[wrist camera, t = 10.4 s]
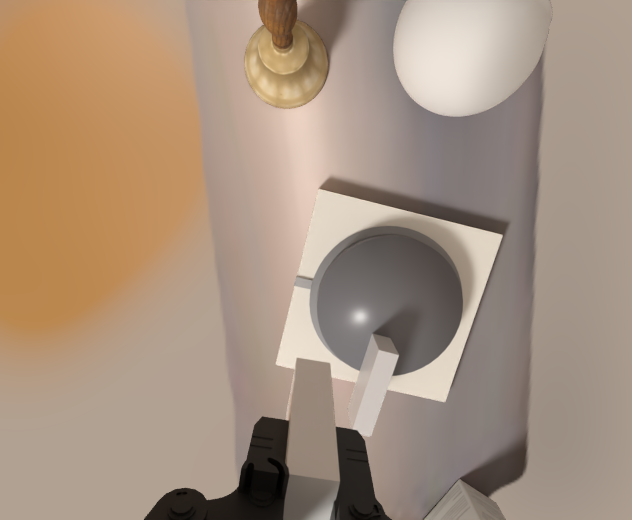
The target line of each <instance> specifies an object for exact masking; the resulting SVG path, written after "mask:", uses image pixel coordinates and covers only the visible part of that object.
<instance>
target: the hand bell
mask: <svg viewBox="0 0 632 520" xmlns="http://www.w3.org/2000/svg"><path fill="white" fill-rule="evenodd" d="M258 8H259V13H260V17H261V20H262V22H263V24H264V25H263V26H261V27H260V28H259V29H258V30H257V31H256V32H255V33H254V34H253V36H252V37H251V39H250V41H249V43H248V46H247V48H246V53H245V60H244V63H245V72H246V76H247V79H248V82H249V84H250V86H251V88H252V89H253V91H254V92H255V93H256V94H257V96H258V97H260V98H261V99H262V100H263V101H265V102H266V103H268V104H270V105H272V106H275V107H278V108H284V109H290V108H296V107H300V106H302V105H304V104H306V103H308V102H310V101H311V100H312V99H314V98H315V97H316V95H317V94H318V93H319V92H320V90H321V89H322V87H323V85H324V83H325V80H326V77H327V72H328V56H327V52H326V48H325V46H324V44H323V42H322V40H321V38H320V37H319V35H318V34H317V33H316V32H315V31H314V30H313V29H312V28H311V27H310V26H308V25H307V24H305V23H303V22H301V21H299V20H296V19H297V2H296V0H259V1H258Z"/></svg>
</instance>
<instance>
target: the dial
mask: <svg viewBox="0 0 632 520" xmlns="http://www.w3.org/2000/svg"><path fill="white" fill-rule="evenodd" d="M462 312H463V296H462V290H461V286H460V282H459V280H458V277H457V275H456V273H455V271H454V270H453V268H452V266H451V265H450V264H449V263H448V261H447V260H446V259H445V258H444V257H443V256H442V255H441V254H440V253H439V252H437V251H436V250H434V249H433V248H432V247H430V246H428V245H426V244H424V243H422V242H421V241H419V240H416V239H414V238H411V237H408V236H403V235H396V234H381V235H375V236H371V237H367V238H364V239H362V240H359V241H357V242H355V243H353V244H352V245H350V246H348V247H347V248H345V249H344V250H343V251H342V252H341V253H339V254H338V255H337V256H336V258H335V259H334V260H333V261H332V262H331V263H330V265H329V266H328V268H327V269H326V271H325V273H324V275H323V277H322V280H321V282H320V285H319V289H318V294H317V316H318V322H319V327H320V330H321V333H322V336H323V338H324V340H325V342H326V343H327V345H328V346H329V348H330V349H331V351H332V352H333V353H334V354H335V355H336V356H337V357H338V358H339V359H340V360H342V361H343V362H344V363H345V364H347V365H349V366H350V367H352V368H354V369H356V370H358V371H360V372H359V375H358V378H357V381H356V384H355V387H354V390H353V393H352V396H351V399H350V402H349V405H348V408H347V409H348V415H349V422H350V428H351V429H353V430H358V432H359V433H360V435H364V436H368V437H371V435H372V432H373V429H374V426H375V423H376V420H377V417H378V414H379V412H380V409H381V406H382V403H383V400H384V397H385V394H386V391H387V389H388V386H389V383H390V380H391V377H392V376H398V375H403V374H407V373H411V372H414V371H416V370H418V369H421V368H423V367H425V366H426V365H428V364H430V363H431V362H432V361H434V360H435V359H436V358H438V357H439V356H440V355H441V354H442V353H443V352H444V351H445V350H446V348H447V347H448V346H449V345H450V343H451V342H452V340H453V338H454V337H455V335H456V332H457V330H458V328H459V325H460V322H461V318H462Z"/></svg>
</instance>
